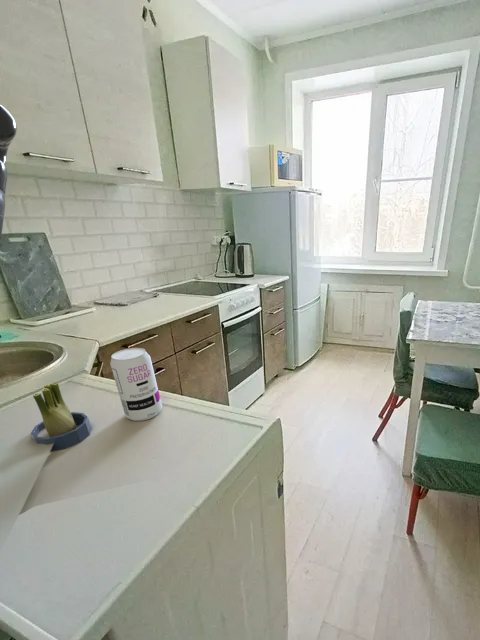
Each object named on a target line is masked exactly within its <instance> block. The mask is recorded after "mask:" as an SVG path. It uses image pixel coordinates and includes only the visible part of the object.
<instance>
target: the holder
mask: <svg viewBox="0 0 480 640" xmlns="http://www.w3.org/2000/svg"><path fill="white" fill-rule="evenodd" d="M70 412H71V415H72V417H73V419H74V422H75V425H76V427H77V428H76V429H74V430H72V431H70V432H68V433H65V434H63V435H59V436H54V437H50V436H49V437H45V436H38V435H39V434H40V432H41V431H43V430H44V429H46V428H45V425H44V422H43V421H41V422H40V423H38V424H36V425H34V427H33V429H32V430H31V431H30V435H31V438H32V439H33V441H34V442H35V443H36V444H40V445H52V446H51V448H50V450H49V453H51V452H55V451H56V452H57V451H61V450H66V449H69V448H71V447H74V446H75V445H77V444H78V445H79V444H80V443H82V442H83V441H84V440H86V438H88V437H89V436H90V435H91V432H92V429H93V428H92V425H91V422H90V419H89V416H87V414H85V413H84V412H75V411H70Z"/></svg>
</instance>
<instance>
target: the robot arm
mask: <svg viewBox="0 0 480 640" xmlns="http://www.w3.org/2000/svg"><path fill="white" fill-rule="evenodd" d="M17 129H18V127H17V123H16V120H15V118H14V117H13V115H12V114H11V113H10V112H9V111H8V110H7V109H6V108H5V107H4V106H3V105H2V104H0V240H1V239H2V236H3V235H2V234H3V228H4V220H5V213H6V191H7V184H8V168H7V167H6V164H7V163H6V161H7V155H8V150H9V147H10V145H11V143H12V142H13V140H14V139H15V137H16V135H17Z"/></svg>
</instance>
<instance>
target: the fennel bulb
mask: <svg viewBox="0 0 480 640" xmlns="http://www.w3.org/2000/svg"><path fill="white" fill-rule="evenodd" d="M32 396H33V399H34V401H35V403H36V405H37V407H38V410H39V412H40V414H41V419H42V422H44V425H45V428H44V429H45V431H46V432H47V435H48V436H49V437H54V436H59V435H63V434H65V433H68V432H70V431H72V430H74V429H76V428H77V427H78V426H77V425H75V422H74V419H73V417H72V415H71V412H72V411H70V409H69V407H68V405H67V404H66V402H65V400H64V398H63V395H62V392H61V390H60V386H59V382H52V383H50V384H49V383H48V384H44V387H43V388H42V389H41V393H40V392H36V393H35V392H34V393H33V394H32Z"/></svg>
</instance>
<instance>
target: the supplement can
mask: <svg viewBox="0 0 480 640" xmlns="http://www.w3.org/2000/svg"><path fill="white" fill-rule="evenodd" d="M110 356H111V359H110V361H109V364H110V369H111V372H112V375H113V379H114V382H115V385H116V389H117V392H118V395H119V398H120V402H121V405H122V409H123V412H124V415H125V418H127V419H128V420H131V421H134V422H143V421H148V420H150V419H152V418H154V417H157V416H158V414H160V412H161V411H162V409H163V403H162V400H161V395H160V392H159V388H158V387H159V386H158V383H157V379H156V375H155V370H154V367H153V362H152V358H151V355H150V354H149V353H148V352H147V350H146V349H145V348H142V347H131V348H130V347H129V348H125V349H121V350H119V351H115V352H114V353H113V354H112V355H110Z"/></svg>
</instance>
